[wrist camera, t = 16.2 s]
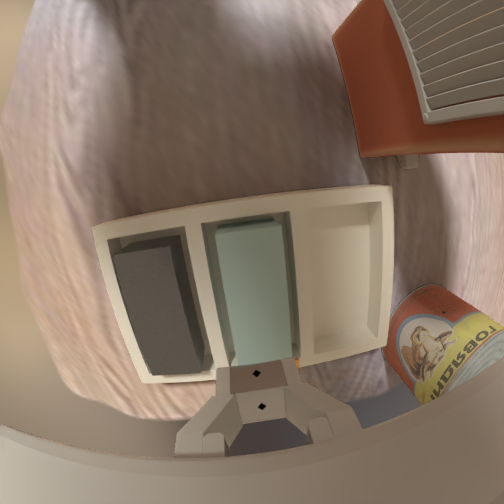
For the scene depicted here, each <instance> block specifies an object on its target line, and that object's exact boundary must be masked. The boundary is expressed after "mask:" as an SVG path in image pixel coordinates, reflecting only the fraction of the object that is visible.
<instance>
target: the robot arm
mask: <svg viewBox="0 0 504 504" xmlns="http://www.w3.org/2000/svg"><path fill="white" fill-rule="evenodd" d="M280 418H287V419H288V420H289V421H290V422H291V423H293V424H294V425H295V426H296V427H297V428H298V429H300V430H301V431H302V432H303V433H304V434H306V435H307V445H305V446H300V447H295V448H290V449H285V450H279V451H272V452H266V453H259V454H251V455H242V456H232V455H231V453H230V450H229V447H230V446H231V444H232V442H233V441H234V439H235V437H236V436H237V434H238V432H239V431H240V429H241V428H242V426H243V424H247V423H253V422H260V421H264V420H265V421H266V420H274V419H280ZM0 504H504V357H502V358H501V359H500V360H498V361H497V362H496V363H494V364H493V365H491V366H490V367H488V368H487V369H485V370H484V371H482V372H481V373H479V374H478V375H476V376H475V377H473V378H472V379H470V380H468V381H467V382H465V383H463V384H462V385H460V386H458V387H456V388H455V389H453V390H451V391H449V392H448V393H446V394H444V395H442V396H440V397H438V398H436V399H434V400H432V401H430V402H428V403H426V404H424V405H422V406H420V407H418V408H416V409H413V410H411V411H409V412H407V413H404V414H402V415H400V416H397V417H395V418H392V419H390V420H387V421H385V422H382V423H379V424H377V425H374V426H371V427H368V428H366V429H362V427H361V425H360V423H359V421H358V419H357V417H356V415H355V413H354V411H353V409H352V407H350V406H349V405H347V404H345V403H343V402H341V401H339V400H337V399H335V398H334V397H332V396H330V395H328V394H326V393H325V392H323V391H321V390H319V389H317V388H316V387H314V386H312V385H310V384H309V383H307V382H305V383H303V382H302V379H301V377H300V374H299V371H298V368H297V365H296V363H295V360H294V358H293V357H287V358H283V359H279V360H273V361H268V362H262V363H255V364H247V365H238V366H230V367H220V368H217V370H216V396H212V397H211V398H210V399H209V400H208V401H207V402H206V403H205V405H204V406H203V407H202V408H201V409H200V410H199V411H198V412H197V413H196V414H195V415H194V416H193V417H192V418H191V420H190V421H189V422H188V423H187V424H186V425H185V426H184V427H183V428H182V429H181V430H180V431H179V432H178V433H177V438H176V446H175V453H174V458H157V457H142V456H132V455H122V454H115V453H108V452H102V451H96V450H91V449H86V448H81V447H76V446H72V445H67V444H63V443H59V442H56V441H52V440H49V439H45V438H42V437H39V436H35V435H33V434H29V433H26V432H24V431H21V430H18V429H16V428H13V427H11V426H8V425H5V424H0Z"/></svg>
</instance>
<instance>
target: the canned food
mask: <svg viewBox="0 0 504 504" xmlns="http://www.w3.org/2000/svg"><path fill="white" fill-rule="evenodd" d="M381 350H382V354H383V356H384V358H385V359H386V361H387V362H388V363H390V364H391V366H392V367H393V368H394V370H395V371H396V372H397V373H398V375H399V376H400V377H401V379H402V380H403V381H404V382H405V384H406V385H407V386H408V388H409V389H410V390H411V392H412V393H413V394H414V395H415V397H416V398H417V400H418V401H419V402H420V404H421V405H424V404H426V403H428V402H430V401H432V400H434V399H436V398H438V397H440V396H442V395H444V394H446V393H448V392H449V391H451V390H453V389H455V388H456V387H458V386H460V385H462V384H463V383H465V382H467V381H468V380H470V379H472V378H473V377H475V376H476V375H478V374H479V373H481V372H482V371H484V370H485V369H487V368H488V367H490V366H491V365H493V364H494V363H496V362H497V361H498V360H500V359H501V358H502V357H504V327H503V326H501V325H500V324H499V323H497V322H496V321H494V320H493V319H491V318H490V317H488V316H487V315H485V314H484V313H482V312H481V311H479V310H478V309H476V308H475V307H473V306H472V305H470V304H468V303H467V302H465V301H464V300H462V299H461V298H459V297H457V296H456V295H454V294H453V293H451V292H449V291H448V290H447V289H446V288H444V287H443V286H441V285H438V284H428V285H424V286H422V287H419V288H417V289H416V290H414V291H413V292H411V293H410V294H409V295H407V296H406V297H405V298H404V299H403V300H402V301H401V302H400V303H399V304H398V306H397V307H396V308H395V310H394V311H393V312H392V314H391V316H390V321H389V329H388V337H387V344H386V346H384V347H381Z"/></svg>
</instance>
